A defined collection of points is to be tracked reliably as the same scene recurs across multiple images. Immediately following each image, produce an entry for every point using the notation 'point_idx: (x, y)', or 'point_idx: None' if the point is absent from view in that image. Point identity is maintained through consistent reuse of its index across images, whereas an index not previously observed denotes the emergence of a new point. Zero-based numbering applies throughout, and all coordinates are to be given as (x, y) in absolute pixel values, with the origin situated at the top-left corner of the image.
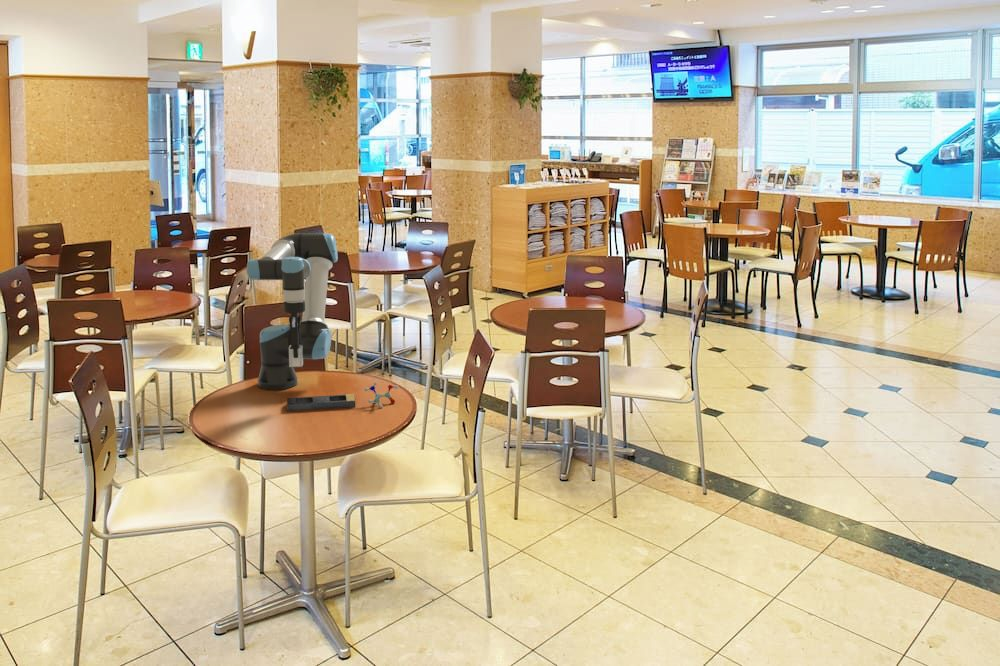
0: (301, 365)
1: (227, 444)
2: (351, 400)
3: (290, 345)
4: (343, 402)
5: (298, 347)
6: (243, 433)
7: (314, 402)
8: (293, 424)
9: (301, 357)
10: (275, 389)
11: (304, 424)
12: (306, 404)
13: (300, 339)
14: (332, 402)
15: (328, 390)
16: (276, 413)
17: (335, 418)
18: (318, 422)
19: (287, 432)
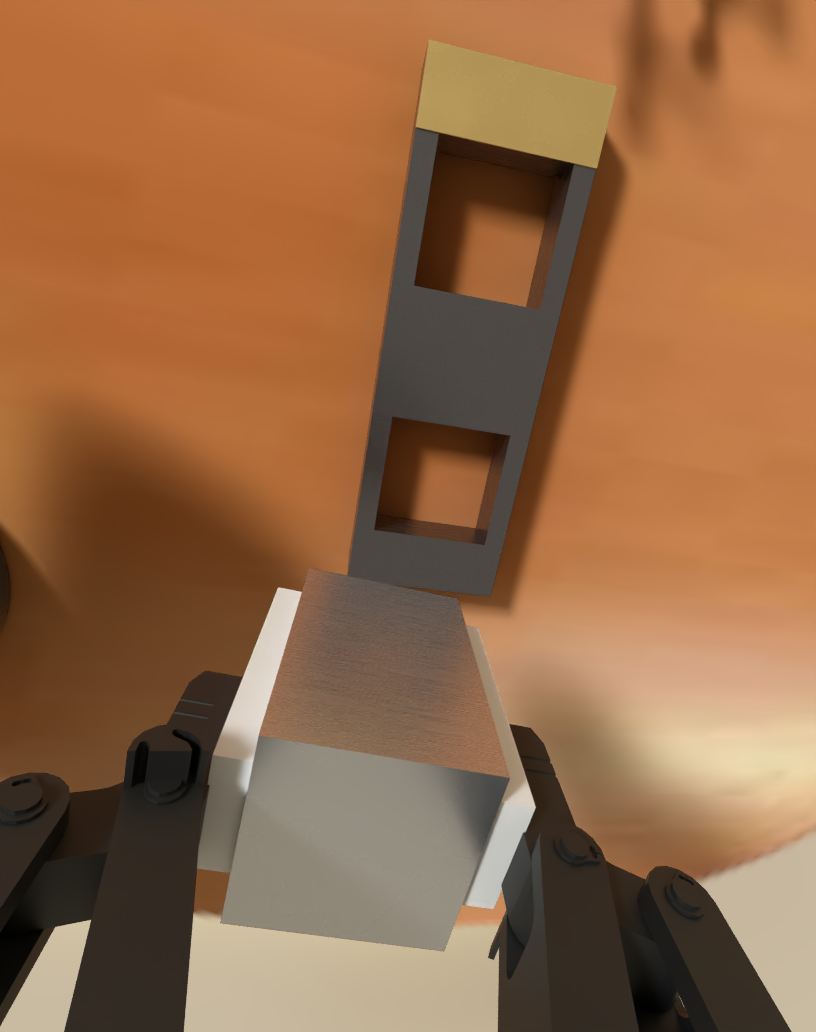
0: (456, 612)
1: (790, 837)
2: (604, 122)
3: (247, 915)
4: (583, 201)
5: (694, 884)
6: (700, 783)
7: (515, 424)
8: (706, 573)
9: (473, 668)
10: (8, 597)
11: (739, 519)
12: (518, 480)
13: (35, 820)
14: (563, 293)
15: (85, 223)
16: (485, 633)
17: (742, 322)
18: (752, 440)
19: (803, 614)
